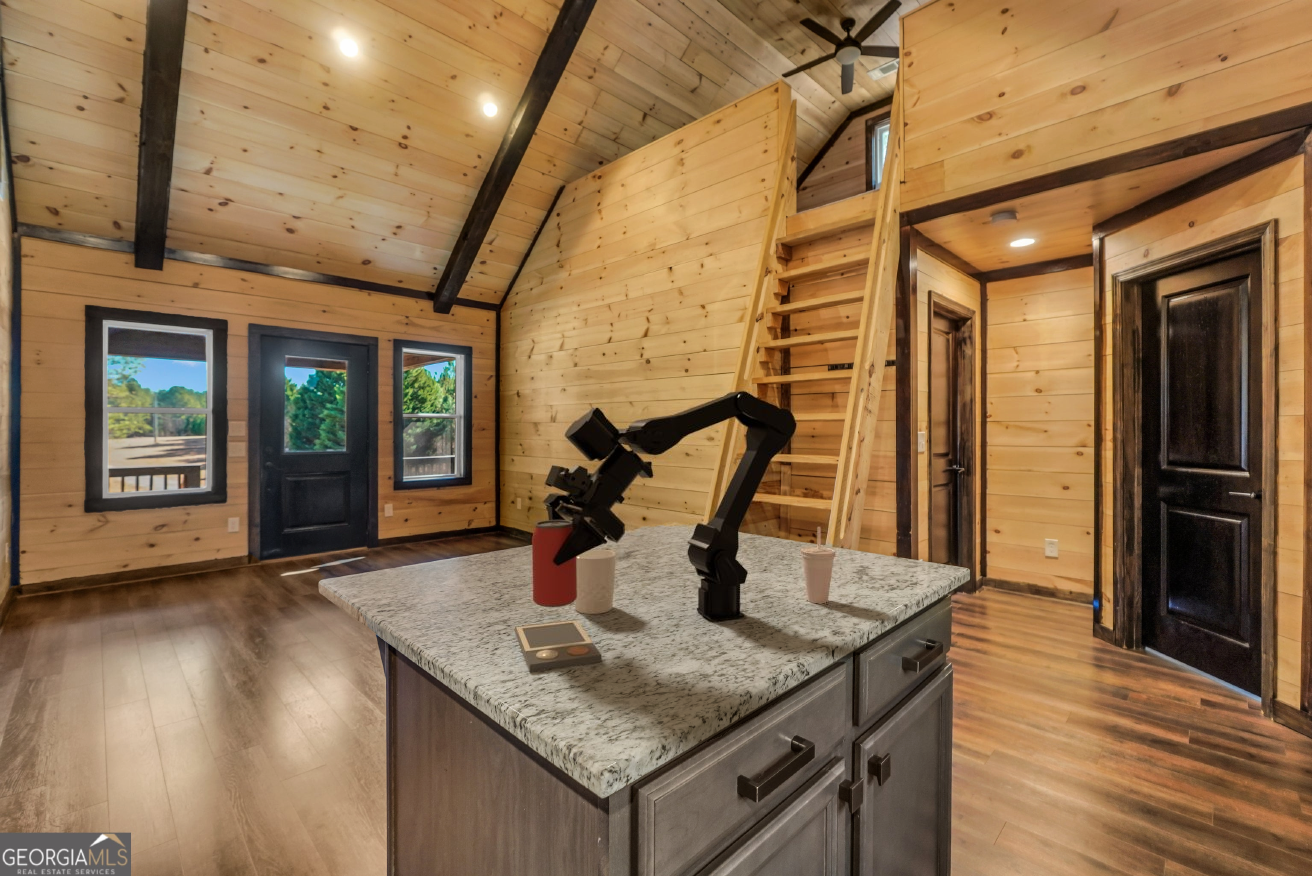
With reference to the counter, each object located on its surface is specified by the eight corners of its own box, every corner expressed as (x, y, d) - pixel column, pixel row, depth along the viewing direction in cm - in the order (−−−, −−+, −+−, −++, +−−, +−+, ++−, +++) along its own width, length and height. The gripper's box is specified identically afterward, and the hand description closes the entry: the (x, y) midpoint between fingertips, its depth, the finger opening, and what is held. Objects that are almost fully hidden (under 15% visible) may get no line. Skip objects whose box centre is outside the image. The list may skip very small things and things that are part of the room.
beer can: (545, 611, 85) (543, 528, 85) (525, 600, 90) (524, 522, 90) (585, 602, 89) (584, 523, 89) (564, 592, 94) (563, 517, 94)
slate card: (576, 625, 98) (576, 618, 98) (601, 661, 83) (601, 653, 83) (515, 632, 95) (514, 625, 95) (529, 671, 80) (529, 663, 80)
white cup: (618, 602, 111) (618, 549, 111) (611, 616, 103) (611, 559, 103) (577, 601, 112) (577, 548, 111) (567, 614, 104) (567, 558, 104)
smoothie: (839, 599, 113) (840, 526, 113) (829, 608, 108) (830, 531, 107) (806, 594, 117) (807, 523, 116) (795, 602, 111) (796, 528, 111)
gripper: (553, 444, 99) (489, 516, 93) (605, 448, 83) (531, 535, 78) (596, 488, 103) (537, 559, 98) (653, 499, 88) (586, 585, 82)
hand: (546, 559), depth 89 cm, fingers closed on beer can, 7 cm apart
